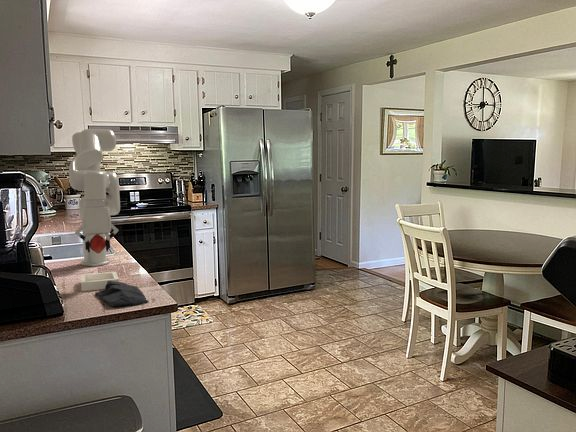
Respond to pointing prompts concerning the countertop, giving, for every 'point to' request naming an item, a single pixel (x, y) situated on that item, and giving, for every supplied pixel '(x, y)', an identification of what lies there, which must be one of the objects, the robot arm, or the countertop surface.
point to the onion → (97, 243)
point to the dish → (97, 280)
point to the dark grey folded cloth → (121, 294)
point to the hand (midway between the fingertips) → (98, 250)
